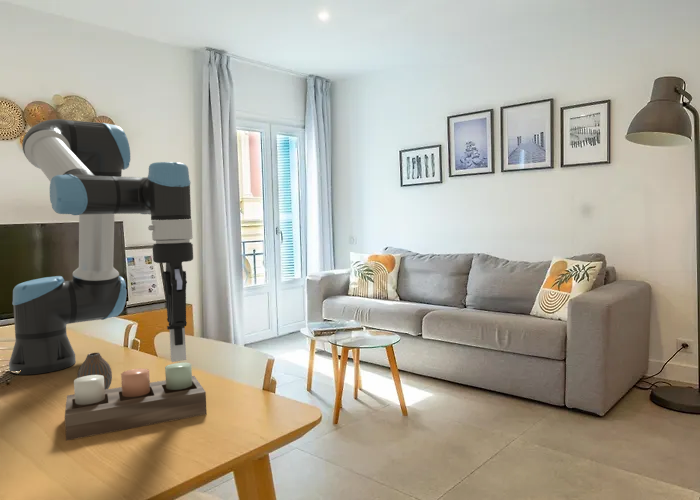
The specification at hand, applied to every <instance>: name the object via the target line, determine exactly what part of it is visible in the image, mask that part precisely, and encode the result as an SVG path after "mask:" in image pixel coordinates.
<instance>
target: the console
mask: <svg viewBox="0 0 700 500" xmlns="http://www.w3.org/2000/svg"><path fill="white" fill-rule="evenodd" d="M65 400H66V402H65V410H64V426H65V441H70V440H71V441H72V440H76V439H81V438H82V439H83V438H87V437H91V436H97V435H102V434H107V433H113V432H117V431H125V430H129V429H134V428H140V427H145V426H149V425H156V424H161V423H167V422H171V421H177V420H183V419H189V418H192V417H193V418H194V417H198V416H204V415H207V413H208V412H207V411H208V409H207V392H206V390H205V388H204V387H203V386H202V384H201V383H200V382H199V381H198V379H197V377H196V376H195V375H192V386H190V387H188V388H185V389H179V390H170V389H167V388H166V379H163V380H159V381H158V380H157V381H152V382H150V392H149V393H147V394H145V395H142V396H137V397H125V396H123V395H122V386H120V387H114V388H108V389H106V390H105V399H104V400H102V401H100V402H97V403H93V404H87V405H79V404H76V403H75V393H74V394H67V395H66V399H65Z"/></svg>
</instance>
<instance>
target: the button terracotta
mask: <svg viewBox="0 0 700 500" xmlns="http://www.w3.org/2000/svg"><path fill="white" fill-rule="evenodd" d="M120 379H121V387H122V395H123V396H125V397H137V396H142V395H145V394H147V393H149V392H150V383H151V382H150V379H151V378H150V370H149V369H148V368H133V369H128V370H124V371H123V372H121V373H120Z"/></svg>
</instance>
